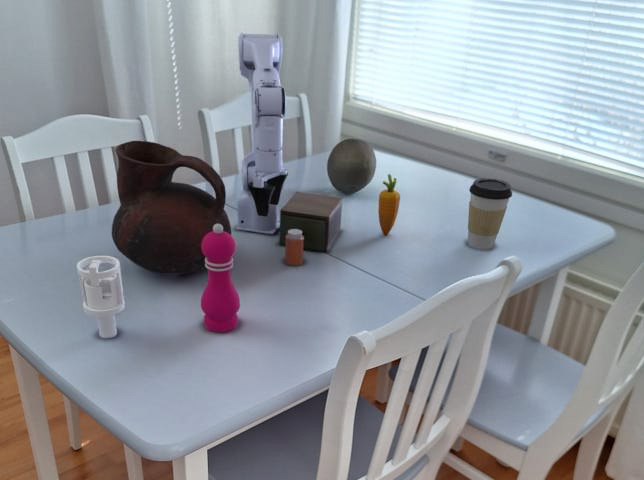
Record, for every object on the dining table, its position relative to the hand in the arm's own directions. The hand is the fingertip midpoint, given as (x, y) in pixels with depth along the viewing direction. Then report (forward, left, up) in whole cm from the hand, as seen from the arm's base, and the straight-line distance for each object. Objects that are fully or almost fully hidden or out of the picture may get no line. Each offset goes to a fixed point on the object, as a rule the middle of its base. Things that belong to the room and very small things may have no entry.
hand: (268, 209), depth 148 cm
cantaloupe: (+9, +47, -11) cm, 49 cm away
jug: (-17, -13, -11) cm, 24 cm away
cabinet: (+7, +12, -10) cm, 17 cm away
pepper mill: (+2, -34, -11) cm, 36 cm away
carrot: (+24, +20, -11) cm, 33 cm away
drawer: (+7, +10, -10) cm, 15 cm away
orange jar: (+7, -2, -10) cm, 13 cm away
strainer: (-16, -44, -11) cm, 48 cm away
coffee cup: (+47, +23, -11) cm, 53 cm away
